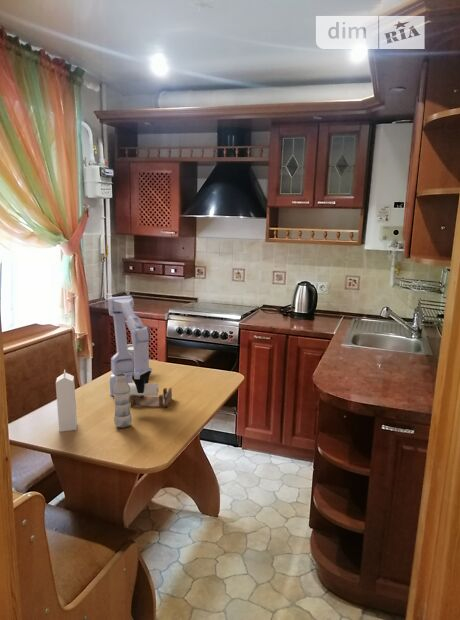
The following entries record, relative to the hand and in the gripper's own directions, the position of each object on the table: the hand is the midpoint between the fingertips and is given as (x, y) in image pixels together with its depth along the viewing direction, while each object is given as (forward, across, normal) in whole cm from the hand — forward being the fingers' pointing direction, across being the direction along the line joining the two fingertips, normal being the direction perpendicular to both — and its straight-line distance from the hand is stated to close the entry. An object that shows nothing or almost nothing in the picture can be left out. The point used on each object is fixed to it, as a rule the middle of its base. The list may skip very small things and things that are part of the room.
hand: (142, 390), depth 180 cm
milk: (+9, -17, +24) cm, 31 cm away
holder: (+9, +9, -1) cm, 13 cm away
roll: (+2, 0, 0) cm, 2 cm away
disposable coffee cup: (+9, +44, +17) cm, 48 cm away
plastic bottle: (+9, -14, +4) cm, 17 cm away
